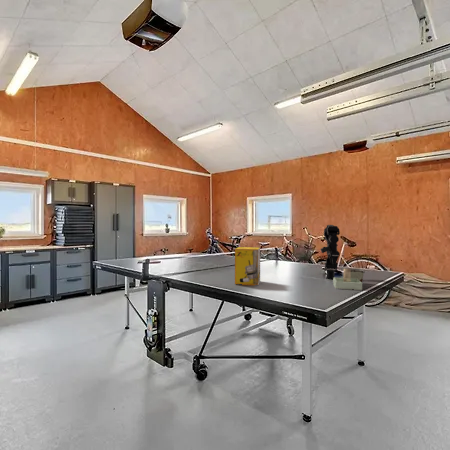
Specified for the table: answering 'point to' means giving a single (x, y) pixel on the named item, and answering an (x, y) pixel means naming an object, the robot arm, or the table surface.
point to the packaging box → (247, 266)
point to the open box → (347, 284)
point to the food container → (357, 274)
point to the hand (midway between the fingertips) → (332, 264)
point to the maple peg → (347, 275)
